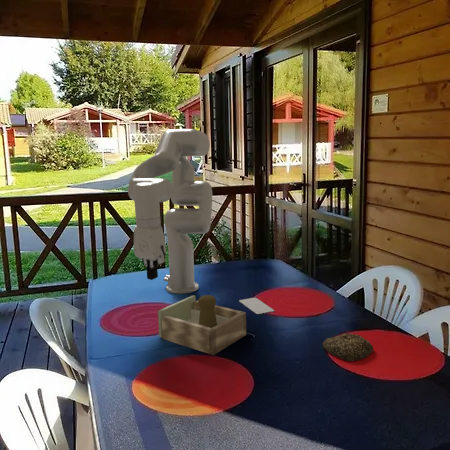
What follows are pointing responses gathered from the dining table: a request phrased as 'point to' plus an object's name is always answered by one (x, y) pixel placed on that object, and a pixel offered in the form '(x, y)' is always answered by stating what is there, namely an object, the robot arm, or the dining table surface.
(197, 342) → the caddy
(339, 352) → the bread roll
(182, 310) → the drawer
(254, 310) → the smartphone
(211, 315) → the cork
